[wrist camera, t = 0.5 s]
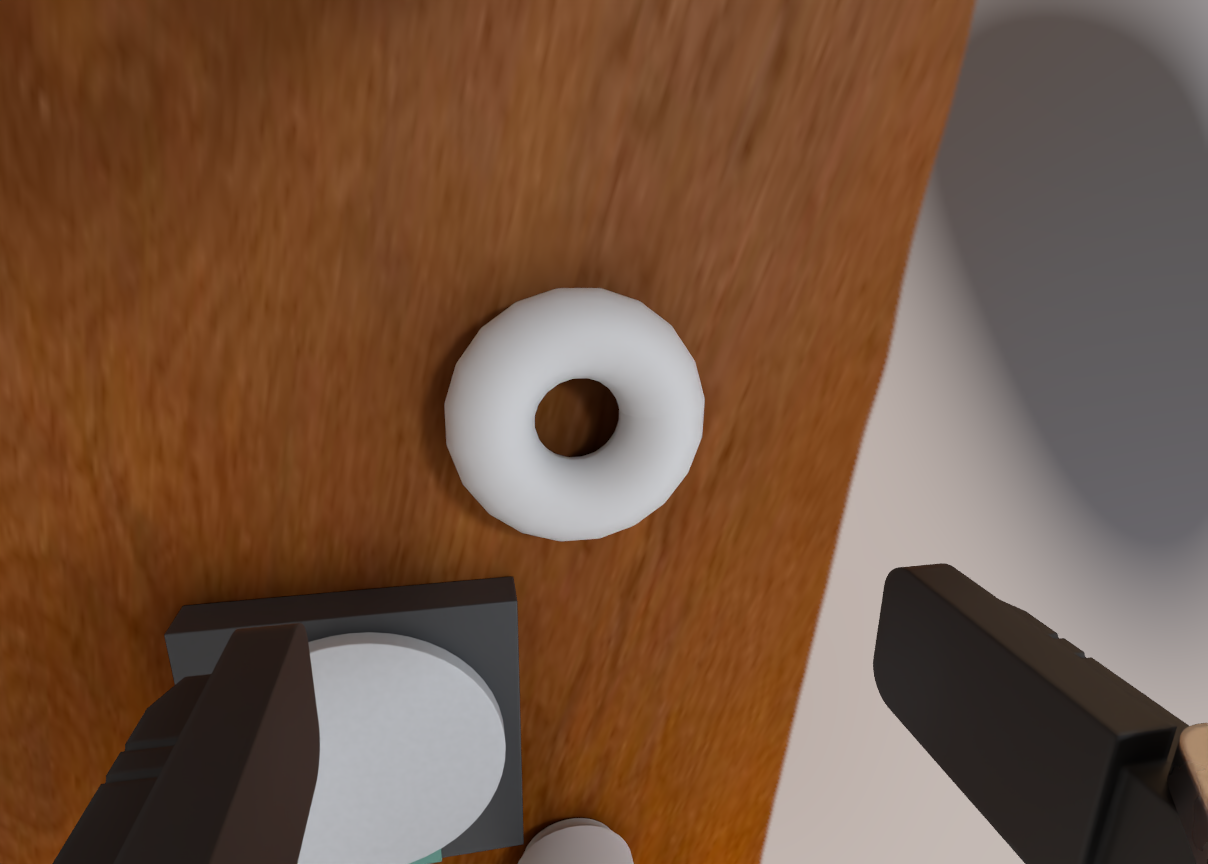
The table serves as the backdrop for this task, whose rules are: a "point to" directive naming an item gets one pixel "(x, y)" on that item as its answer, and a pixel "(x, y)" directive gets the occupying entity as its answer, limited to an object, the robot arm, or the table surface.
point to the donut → (536, 365)
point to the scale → (397, 714)
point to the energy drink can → (577, 844)
